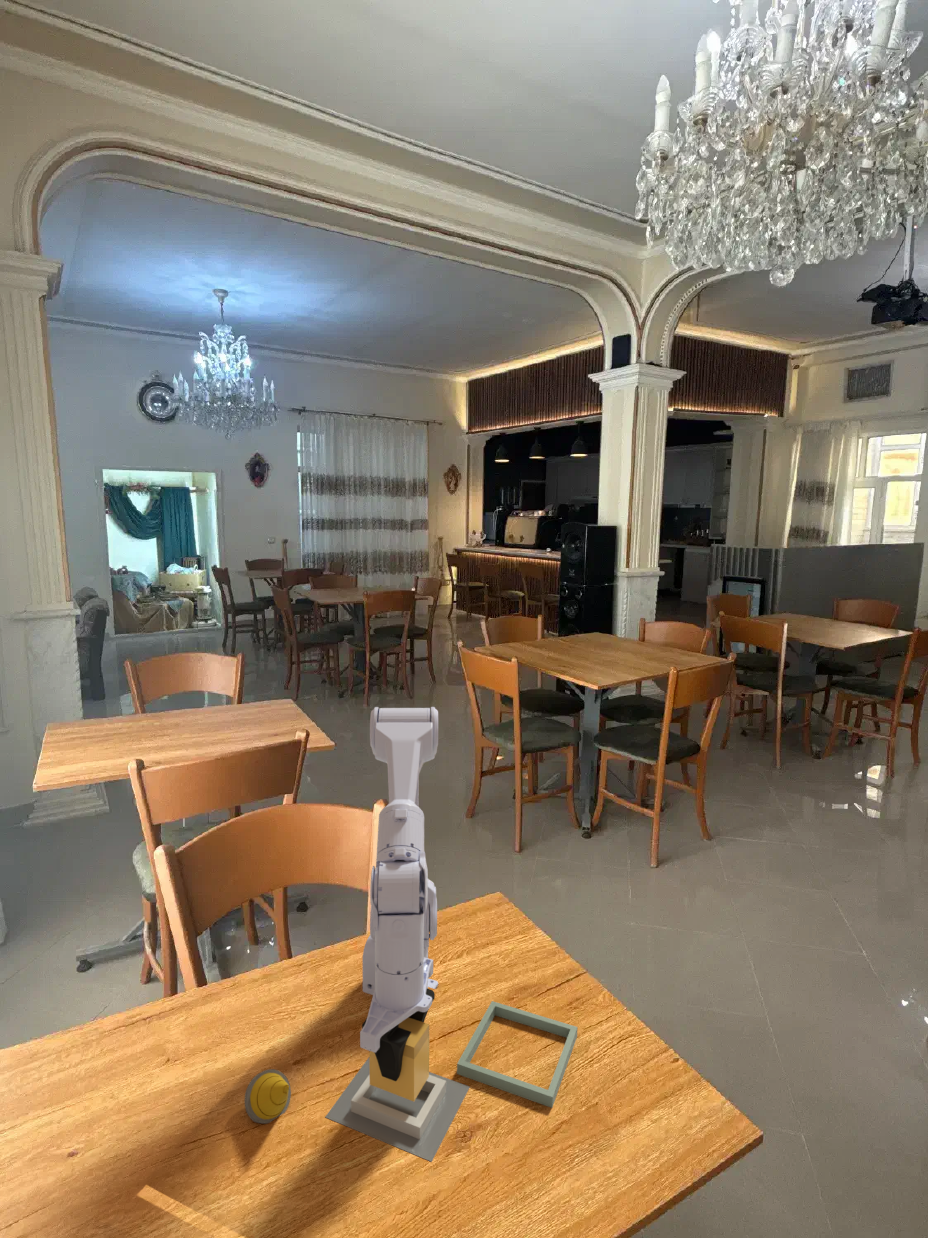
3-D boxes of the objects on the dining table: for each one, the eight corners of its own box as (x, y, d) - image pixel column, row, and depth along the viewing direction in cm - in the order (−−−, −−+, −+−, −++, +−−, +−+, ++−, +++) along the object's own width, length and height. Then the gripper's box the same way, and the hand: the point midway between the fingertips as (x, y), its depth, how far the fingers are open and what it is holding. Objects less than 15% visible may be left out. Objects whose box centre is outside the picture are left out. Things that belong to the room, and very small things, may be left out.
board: (325, 1123, 80) (324, 1106, 80) (372, 1057, 90) (372, 1041, 90) (431, 1168, 75) (431, 1149, 74) (469, 1092, 85) (470, 1076, 84)
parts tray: (456, 1079, 87) (457, 1064, 86) (491, 1015, 98) (491, 1001, 98) (552, 1113, 82) (552, 1097, 81) (577, 1041, 93) (577, 1027, 93)
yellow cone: (287, 1089, 85) (318, 1073, 79) (264, 1137, 81) (296, 1125, 75) (252, 1066, 85) (281, 1049, 79) (227, 1114, 81) (256, 1099, 75)
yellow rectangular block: (369, 1084, 81) (369, 1032, 80) (386, 1060, 85) (386, 1010, 84) (413, 1101, 79) (414, 1047, 78) (429, 1076, 83) (429, 1024, 82)
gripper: (400, 1008, 71) (400, 1122, 73) (455, 933, 85) (454, 1031, 87) (343, 990, 74) (344, 1100, 76) (405, 920, 87) (405, 1015, 89)
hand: (399, 1062), depth 82 cm, fingers closed on yellow rectangular block, 4 cm apart
